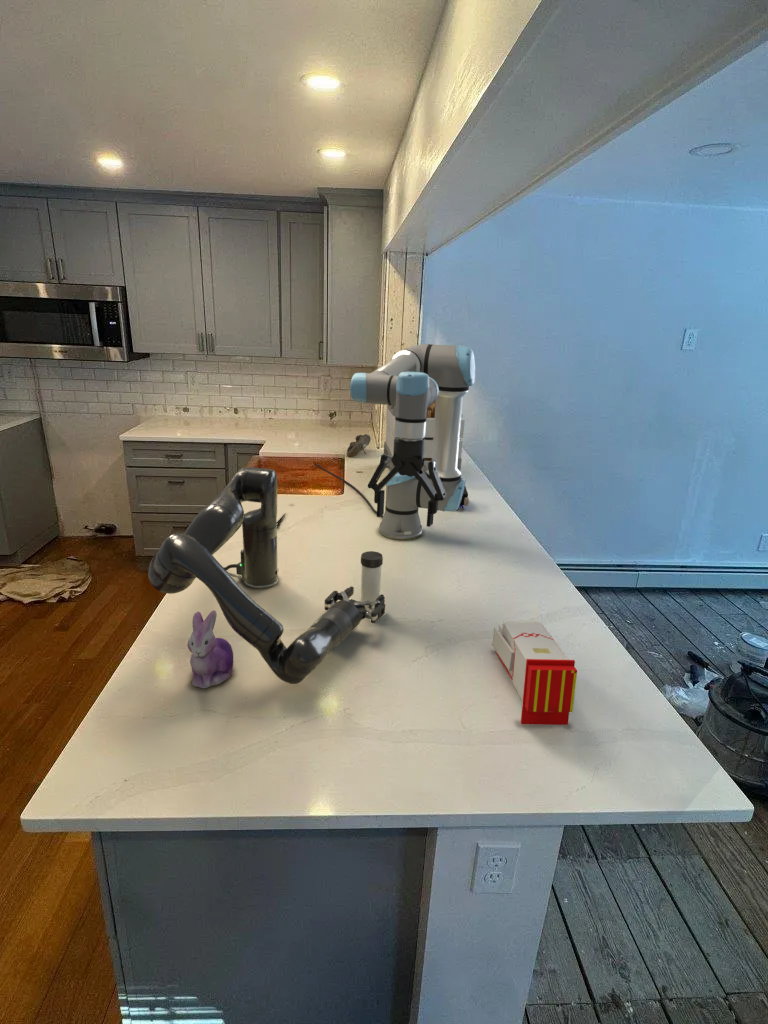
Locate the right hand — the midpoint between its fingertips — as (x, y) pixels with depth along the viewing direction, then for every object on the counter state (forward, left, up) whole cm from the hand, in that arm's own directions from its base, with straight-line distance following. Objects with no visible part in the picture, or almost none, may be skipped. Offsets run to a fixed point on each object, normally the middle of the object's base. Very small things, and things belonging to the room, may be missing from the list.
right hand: (404, 520), depth 144 cm
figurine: (0, -53, -24) cm, 58 cm away
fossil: (-136, +93, -24) cm, 167 cm away
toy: (+42, -1, -24) cm, 48 cm away
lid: (-2, -8, -9) cm, 12 cm away
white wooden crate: (-90, +95, -24) cm, 133 cm away
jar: (-2, -8, -24) cm, 26 cm away
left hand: (-1, -11, -18) cm, 21 cm away
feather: (-74, +9, -24) cm, 79 cm away
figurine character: (-46, +74, -24) cm, 91 cm away
